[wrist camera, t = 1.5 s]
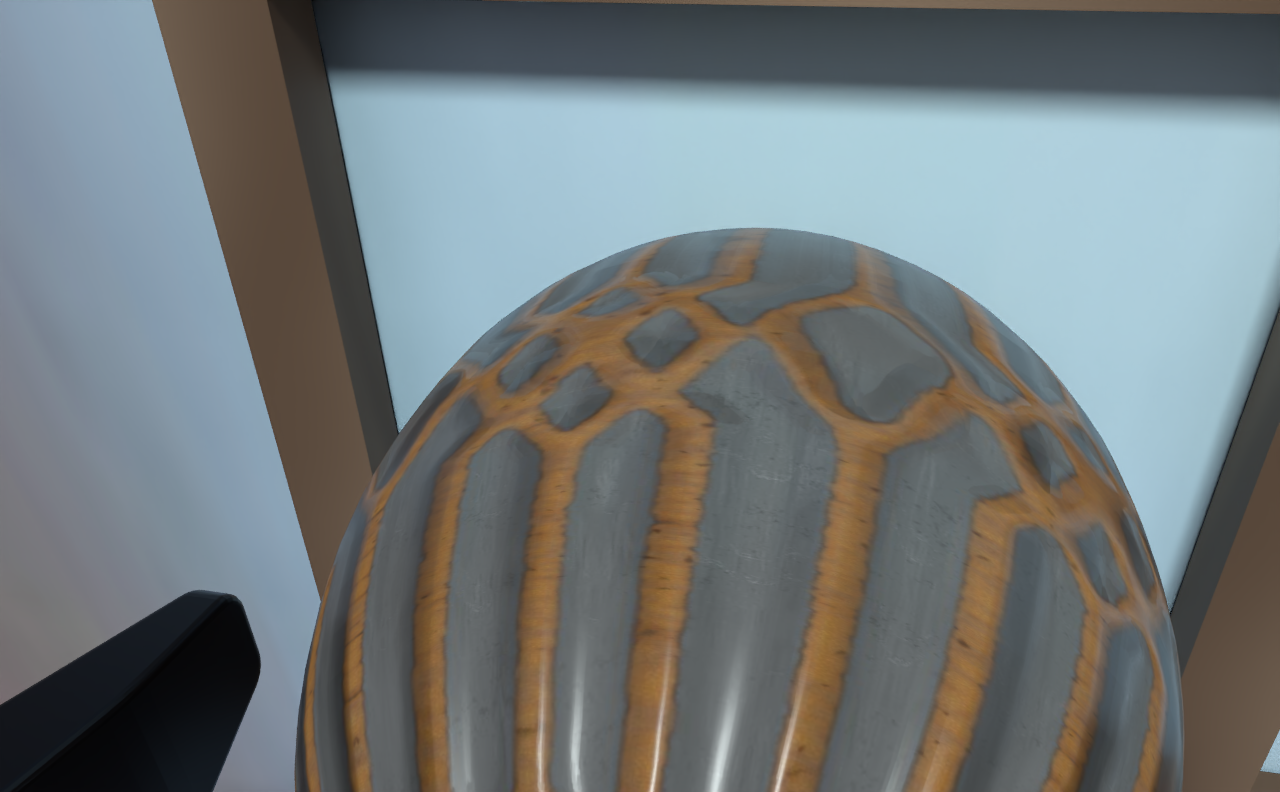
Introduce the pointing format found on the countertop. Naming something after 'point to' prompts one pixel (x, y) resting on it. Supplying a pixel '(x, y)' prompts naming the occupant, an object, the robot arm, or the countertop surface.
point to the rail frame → (359, 396)
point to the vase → (745, 551)
